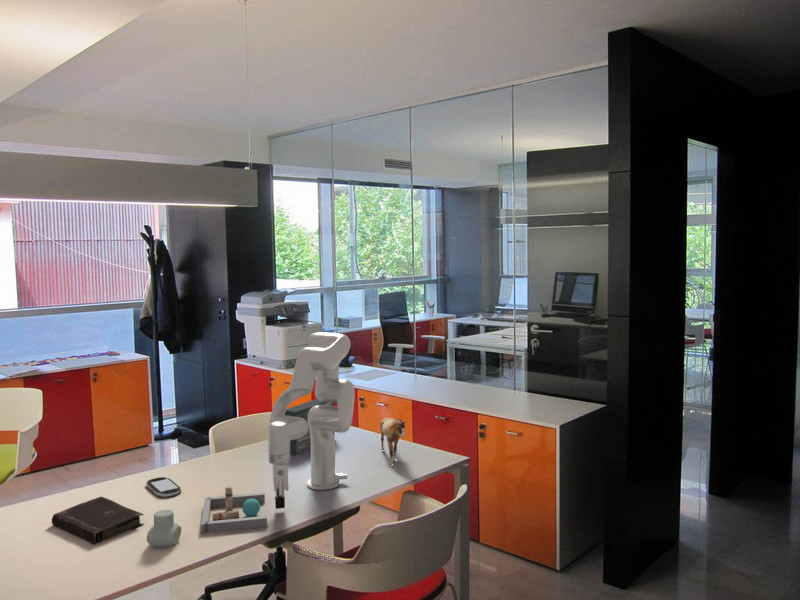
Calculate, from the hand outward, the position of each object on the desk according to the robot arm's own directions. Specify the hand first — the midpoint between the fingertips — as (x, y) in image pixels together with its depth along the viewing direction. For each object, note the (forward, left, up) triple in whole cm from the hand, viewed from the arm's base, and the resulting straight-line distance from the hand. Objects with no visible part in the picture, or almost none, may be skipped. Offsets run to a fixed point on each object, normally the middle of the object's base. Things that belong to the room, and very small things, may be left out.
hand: (280, 507), depth 228 cm
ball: (+10, +1, +2) cm, 10 cm away
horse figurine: (-54, -47, -2) cm, 71 cm away
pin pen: (+15, 0, -2) cm, 15 cm away
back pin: (+18, -4, -2) cm, 18 cm away
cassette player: (-18, -73, -2) cm, 75 cm away
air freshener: (+37, +16, -2) cm, 40 cm away
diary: (+60, -3, -2) cm, 60 cm away
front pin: (+14, +1, 0) cm, 14 cm away
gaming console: (+42, -32, -2) cm, 53 cm away
